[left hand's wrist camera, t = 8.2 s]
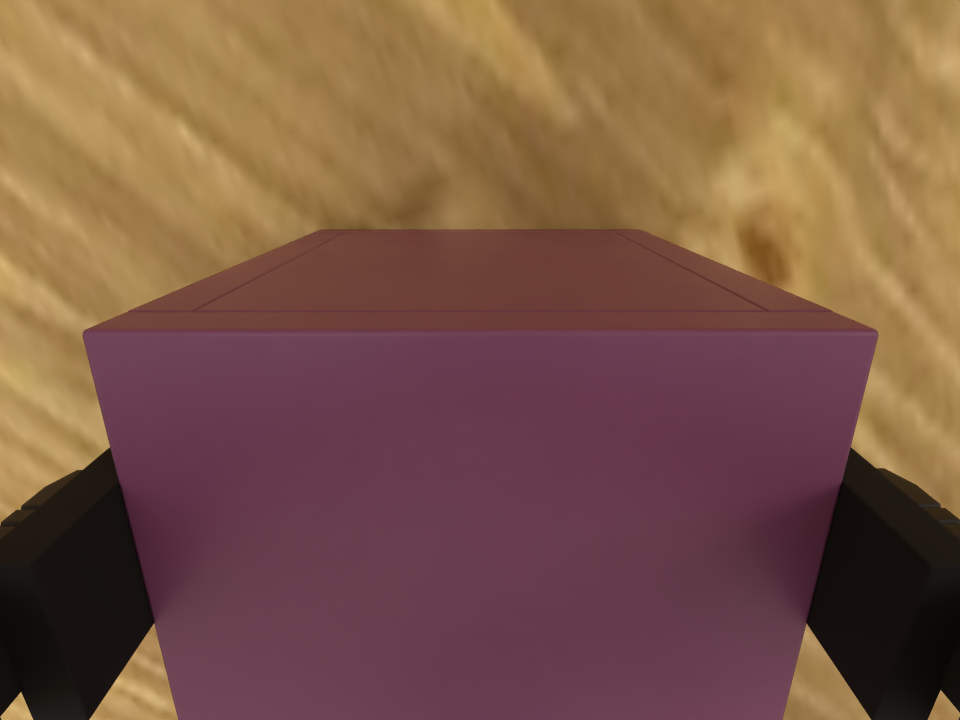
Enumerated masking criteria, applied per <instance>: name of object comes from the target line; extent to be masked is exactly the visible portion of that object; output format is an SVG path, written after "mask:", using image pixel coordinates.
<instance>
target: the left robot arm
mask: <svg viewBox="0 0 960 720" xmlns="http://www.w3.org/2000/svg"><path fill="white" fill-rule="evenodd" d="M153 624H154V620H153V616H152V612H151V608H150V604H149V600H148V596H147V592H146V588H145V584H144V580H143V576H142V572H141V568H140V564H139V560H138V556H137V552H136V548H135V544H134V540H133V536H132V532H131V528H130V524H129V520H128V516H127V512H126V508H125V504H124V500H123V496H122V492H121V488H120V484H119V480H118V476H117V472H116V468H115V464H114V460H113V456H112V452H111V448H109V449H107V450H106V451H105V452H104V453H103V454H101V455H100V456H99V457H98V458H97V459H95V460H94V461H93V462H92V463H91V464H89V465H88V466H87V467H86V468H85V469H84V470H77V471H75V472H73V473H71V474H69V475H67V476H65V477H63V478H61V479H59V480H57V481H56V482H54V483H52V484H50V485H48V486H46V487H44V488H43V489H42V490H41V491H39V492H38V493H37V494H36V495H35V496H33V497H32V498H31V499H30V500H28V501H27V502H26V503H25V504H23V505H22V506H21V510H16V511H15V512H13V513H12V514H11V515H10V516H8V517H7V518H6V519H5V520H3V521H2V522H1V526H0V716H1V715H2V714H3V713H4V711H5V710H6V709H7V708H8V707H9V705H10V704H11V703H12V702H13V701H14V699H15V698H16V697H17V696H18V695H19V693H20V692H22V694H23V697H24V699H25V701H26V704H27V706H28V708H29V711H30V713H31V715H32V718H33V720H89V719H90V718H91V716H92V715H93V713H94V712H95V710H96V709H97V707H98V706H99V704H100V703H101V701H102V700H103V698H104V697H105V695H106V694H107V692H108V691H109V689H110V688H111V686H112V685H113V683H114V682H115V680H116V679H117V677H118V676H119V674H120V673H121V671H122V670H123V668H124V667H125V666H126V664H127V663H128V661H129V660H130V658H131V657H132V655H133V654H134V652H135V651H136V649H137V648H138V646H139V645H140V643H141V642H142V640H143V639H144V637H145V636H146V634H147V633H148V631H149V630H150V628H151V627H152V625H153ZM807 624H808V626H809V627H810V629H811V630H812V632H813V633H814V635H815V636H816V638H817V639H818V641H819V642H820V644H821V645H822V647H823V648H824V650H825V651H826V653H827V654H828V656H829V657H830V659H831V660H832V662H833V663H834V665H835V666H836V668H837V669H838V671H839V672H840V674H841V675H842V676H843V678H844V679H845V681H846V682H847V684H848V685H849V687H850V688H851V690H852V691H853V693H854V694H855V696H856V697H857V699H858V700H859V702H860V703H861V705H862V706H863V708H864V709H865V711H866V712H867V714H868V715H869V717H870V718H871V720H928V717H929V715H930V713H931V710H932V708H933V706H934V703H935V701H936V699H937V697H938V694H939V692H940V690H941V691H942V692H943V693H944V694H945V695H946V697H947V698H948V699H949V700H950V701H951V703H952V704H953V705H954V706H955V707H956V709H957V710H958V711H959V712H960V519H958V518H957V517H956V516H955V515H953V514H952V513H951V512H949V511H948V510H947V509H946V508H941V507H940V504H939V503H938V502H937V501H936V500H934V499H933V498H932V497H931V496H929V495H928V494H927V493H926V492H924V491H923V490H922V489H921V488H919V487H918V486H917V485H915V484H913V483H912V482H910V481H908V480H906V479H904V478H902V477H900V476H898V475H896V474H894V473H892V472H890V471H888V470H886V469H884V468H875V467H874V466H872V465H871V464H870V463H869V462H868V461H866V460H865V459H864V458H863V457H862V456H860V455H859V454H858V453H857V452H856V451H855V450H853V449H852V448H851V447H850V451H849V455H848V459H847V463H846V467H845V471H844V475H843V479H842V483H841V487H840V491H839V495H838V499H837V503H836V507H835V511H834V515H833V519H832V523H831V527H830V531H829V535H828V539H827V543H826V547H825V551H824V555H823V559H822V563H821V567H820V571H819V575H818V579H817V583H816V587H815V591H814V595H813V599H812V603H811V607H810V611H809V615H808V619H807ZM0 720H1V718H0ZM959 720H960V718H959Z"/></svg>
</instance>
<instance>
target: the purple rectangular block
mask: <svg viewBox="0 0 960 720" xmlns="http://www.w3.org/2000/svg"><path fill="white" fill-rule="evenodd" d="M877 339H878V332H877V330H875V329H873V328H870V327H868V326H866V325H863V324H861V323H858V322H856V321H854V320H851V319H849V318H847V317H844V316H842V315H840V314H837V313H835V312H833V311H831V310H829V309H827V308H824V307H822V306H820V305H817V304H815V303H813V302H810V301H808V300H805V299H803V298H801V297H798V296H796V295H794V294H791V293H789V292H786V291H784V290H782V289H779V288H777V287H775V286H772V285H770V284H767V283H765V282H763V281H760V280H758V279H756V278H753V277H751V276H748V275H746V274H744V273H741V272H739V271H737V270H734V269H732V268H729V267H727V266H725V265H722V264H720V263H718V262H715V261H713V260H710V259H708V258H706V257H703V256H701V255H699V254H696V253H694V252H691V251H689V250H687V249H684V248H682V247H680V246H677V245H675V244H672V243H670V242H668V241H665V240H663V239H661V238H658V237H656V236H653V235H651V234H649V233H646V232H644V231H642V230H319V231H316V232H314V233H312V234H310V235H307V236H305V237H302V238H300V239H298V240H295V241H293V242H291V243H288V244H286V245H283V246H281V247H279V248H276V249H274V250H272V251H269V252H267V253H265V254H262V255H260V256H257V257H255V258H253V259H250V260H248V261H246V262H243V263H241V264H238V265H236V266H234V267H231V268H229V269H227V270H224V271H222V272H220V273H217V274H215V275H212V276H210V277H208V278H205V279H203V280H201V281H198V282H196V283H194V284H191V285H189V286H186V287H184V288H182V289H179V290H177V291H175V292H172V293H170V294H167V295H165V296H163V297H160V298H158V299H156V300H153V301H151V302H149V303H146V304H144V305H141V306H139V307H137V308H134V309H132V310H130V311H128V312H126V313H124V314H122V315H119V316H117V317H114V318H112V319H110V320H107V321H105V322H103V323H100V324H98V325H96V326H93V327H91V328H88V329H86V330H84V331H83V340H84V344H85V348H86V352H87V356H88V360H89V364H90V368H91V372H92V376H93V380H94V384H95V388H96V392H97V396H98V400H99V404H100V408H101V412H102V416H103V420H104V424H105V428H106V432H107V436H108V440H109V444H110V448H111V452H112V456H113V460H114V464H115V468H116V472H117V476H118V480H119V484H120V488H121V492H122V496H123V500H124V504H125V508H126V512H127V516H128V520H129V524H130V528H131V532H132V536H133V540H134V544H135V548H136V552H137V556H138V560H139V564H140V568H141V572H142V576H143V580H144V584H145V588H146V592H147V596H148V600H149V604H150V608H151V612H152V616H153V620H154V624H155V628H156V632H157V636H158V640H159V644H160V648H161V652H162V656H163V660H164V664H165V668H166V672H167V676H168V680H169V684H170V688H171V692H172V696H173V700H174V704H175V708H176V712H177V716H178V720H782V719H783V715H784V711H785V707H786V703H787V699H788V695H789V691H790V687H791V683H792V679H793V675H794V671H795V667H796V663H797V659H798V655H799V651H800V647H801V643H802V639H803V635H804V631H805V627H806V623H807V619H808V615H809V611H810V607H811V603H812V599H813V595H814V591H815V587H816V583H817V579H818V575H819V571H820V567H821V563H822V559H823V555H824V551H825V547H826V543H827V539H828V535H829V531H830V527H831V523H832V519H833V515H834V511H835V507H836V503H837V499H838V495H839V491H840V487H841V483H842V479H843V475H844V471H845V467H846V463H847V459H848V455H849V451H850V447H851V443H852V439H853V435H854V431H855V427H856V423H857V419H858V415H859V411H860V407H861V403H862V399H863V395H864V391H865V387H866V383H867V379H868V375H869V371H870V367H871V363H872V359H873V355H874V351H875V347H876V343H877Z"/></svg>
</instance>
